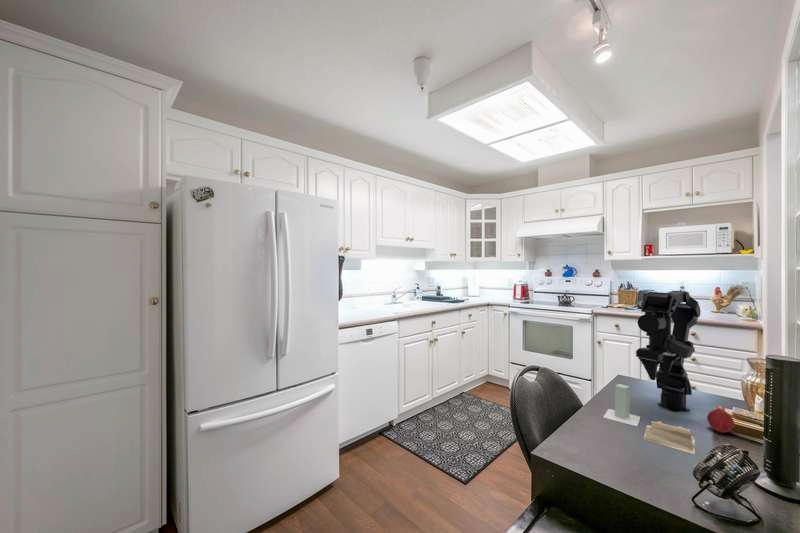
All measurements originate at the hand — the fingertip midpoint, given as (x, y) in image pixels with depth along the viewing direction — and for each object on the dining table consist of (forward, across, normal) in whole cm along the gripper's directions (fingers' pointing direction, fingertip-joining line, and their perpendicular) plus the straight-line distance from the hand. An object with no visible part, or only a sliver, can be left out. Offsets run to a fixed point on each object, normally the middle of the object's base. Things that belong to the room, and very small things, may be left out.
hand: (659, 378), depth 110 cm
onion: (+13, +5, -14) cm, 20 cm away
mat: (+13, -11, +6) cm, 18 cm away
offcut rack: (+14, -14, -8) cm, 21 cm away
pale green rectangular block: (+13, -11, +6) cm, 18 cm away
